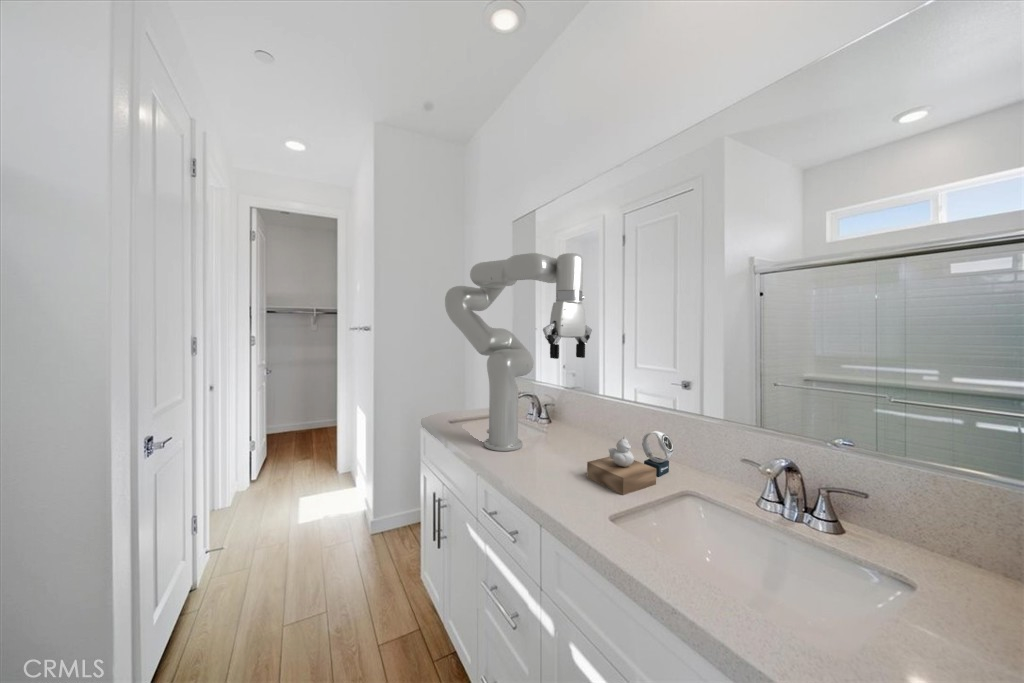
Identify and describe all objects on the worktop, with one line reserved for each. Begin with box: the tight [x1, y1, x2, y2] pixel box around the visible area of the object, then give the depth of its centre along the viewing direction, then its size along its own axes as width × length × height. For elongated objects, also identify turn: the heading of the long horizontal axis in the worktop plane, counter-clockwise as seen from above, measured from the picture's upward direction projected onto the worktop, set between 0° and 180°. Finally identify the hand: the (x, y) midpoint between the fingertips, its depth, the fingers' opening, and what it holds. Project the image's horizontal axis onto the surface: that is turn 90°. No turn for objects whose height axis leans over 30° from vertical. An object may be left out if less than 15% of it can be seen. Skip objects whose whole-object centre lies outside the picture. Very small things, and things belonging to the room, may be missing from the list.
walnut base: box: [586, 456, 657, 496], centre depth 93 cm, size 12×12×4 cm
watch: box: [641, 430, 675, 478], centre depth 99 cm, size 6×8×11 cm
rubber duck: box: [608, 435, 635, 467], centre depth 93 cm, size 5×7×8 cm
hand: (567, 357), depth 105 cm, fingers open, 9 cm apart
